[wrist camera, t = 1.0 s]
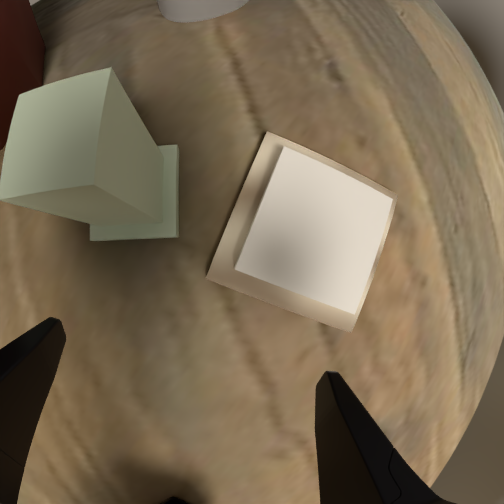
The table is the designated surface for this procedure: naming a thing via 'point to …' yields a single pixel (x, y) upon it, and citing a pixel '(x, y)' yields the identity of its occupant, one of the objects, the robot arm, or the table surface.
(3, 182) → the sage pillar
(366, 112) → the table surface
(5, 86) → the bucket
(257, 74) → the table surface
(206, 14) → the white paw print block
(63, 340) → the robot arm
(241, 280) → the ash base slab
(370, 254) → the whitewashed top slab
